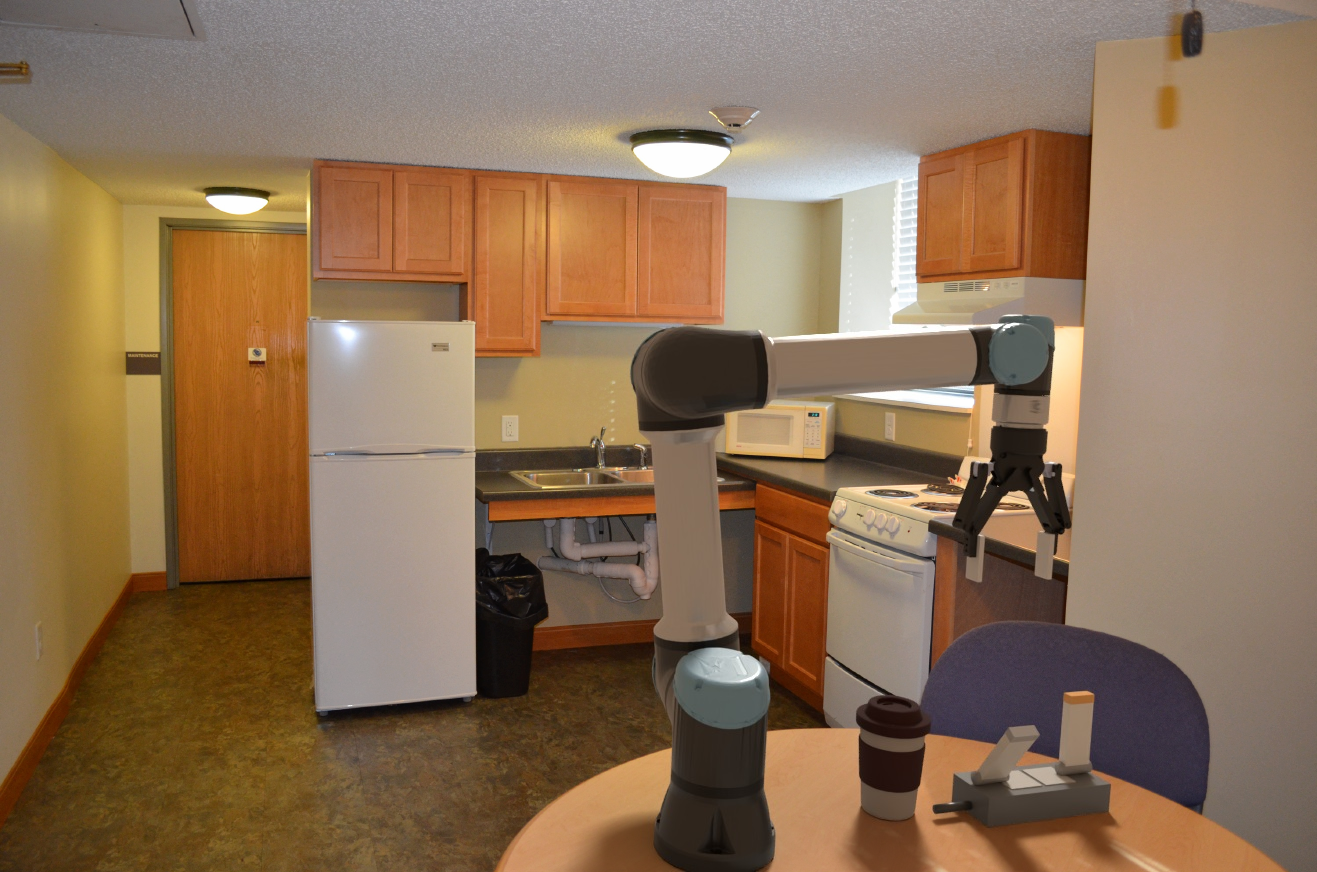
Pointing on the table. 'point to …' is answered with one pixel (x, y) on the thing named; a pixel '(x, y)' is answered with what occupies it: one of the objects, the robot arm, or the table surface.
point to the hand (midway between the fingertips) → (1008, 578)
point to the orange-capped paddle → (1075, 733)
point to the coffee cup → (891, 755)
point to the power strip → (1028, 796)
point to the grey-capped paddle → (1005, 755)
